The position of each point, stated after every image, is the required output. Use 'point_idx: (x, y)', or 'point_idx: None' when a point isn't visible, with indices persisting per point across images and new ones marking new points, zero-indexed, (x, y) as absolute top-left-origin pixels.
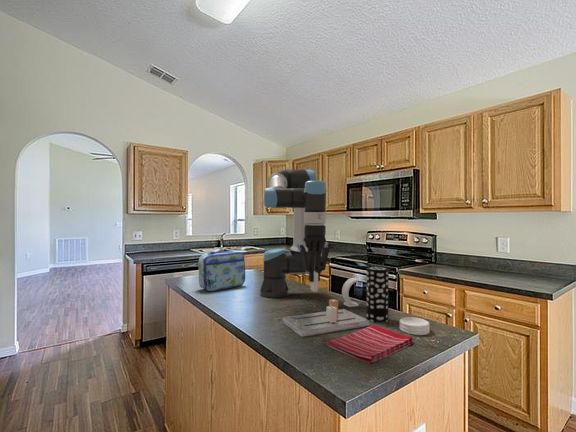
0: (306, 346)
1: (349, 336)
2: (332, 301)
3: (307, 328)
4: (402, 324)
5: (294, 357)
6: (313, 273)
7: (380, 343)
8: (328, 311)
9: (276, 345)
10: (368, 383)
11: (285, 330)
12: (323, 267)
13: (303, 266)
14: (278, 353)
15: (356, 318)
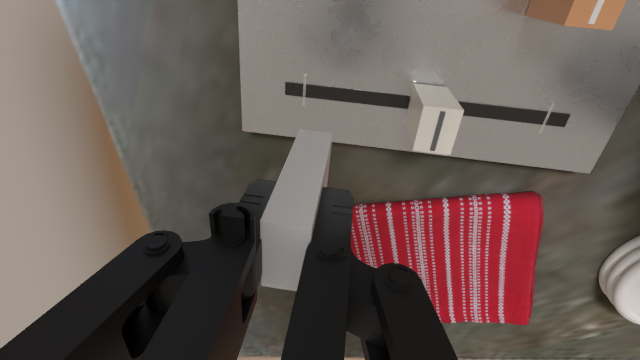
0: (229, 190)
1: (385, 222)
2: (567, 16)
3: (276, 120)
4: (623, 274)
5: (172, 225)
6: (261, 267)
7: (430, 284)
8: (415, 119)
9: (142, 141)
10: (264, 349)
11: (215, 23)
12: (378, 352)
13: (105, 272)
14: (136, 188)
15: (571, 125)
